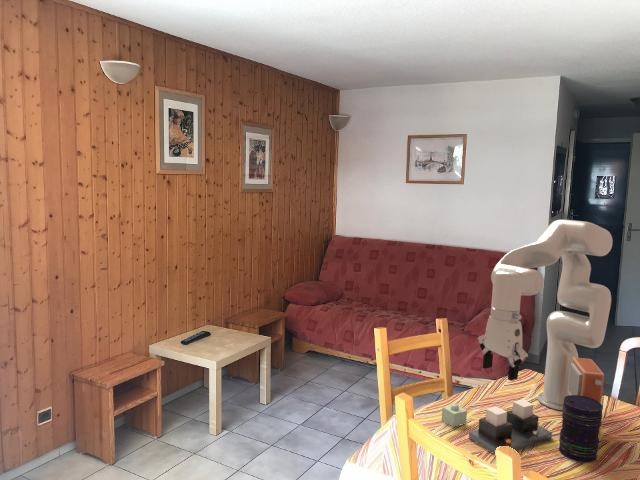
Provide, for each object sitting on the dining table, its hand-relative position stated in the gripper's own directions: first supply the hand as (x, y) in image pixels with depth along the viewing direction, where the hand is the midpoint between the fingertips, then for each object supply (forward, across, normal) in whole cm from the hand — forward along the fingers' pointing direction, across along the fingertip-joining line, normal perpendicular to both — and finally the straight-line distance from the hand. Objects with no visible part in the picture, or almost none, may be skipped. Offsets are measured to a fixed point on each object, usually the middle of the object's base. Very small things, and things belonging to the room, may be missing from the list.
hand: (499, 373), depth 150 cm
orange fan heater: (+21, -8, -28) cm, 35 cm away
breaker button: (+16, 0, -11) cm, 20 cm away
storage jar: (+21, -15, -17) cm, 31 cm away
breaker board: (+20, -1, -6) cm, 21 cm away
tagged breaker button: (+16, 0, 0) cm, 16 cm away
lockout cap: (+21, +14, +2) cm, 25 cm away
